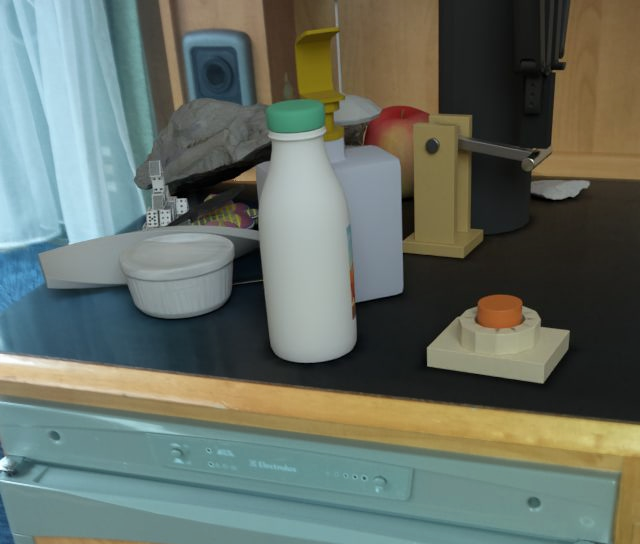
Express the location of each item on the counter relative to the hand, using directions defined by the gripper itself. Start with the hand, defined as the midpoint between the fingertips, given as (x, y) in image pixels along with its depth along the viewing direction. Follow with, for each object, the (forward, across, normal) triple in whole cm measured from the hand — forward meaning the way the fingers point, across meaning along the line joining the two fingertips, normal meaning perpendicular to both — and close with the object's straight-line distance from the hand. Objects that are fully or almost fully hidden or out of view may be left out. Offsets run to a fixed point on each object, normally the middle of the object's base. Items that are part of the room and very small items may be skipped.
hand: (535, 146), depth 98 cm
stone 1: (+8, -6, -40) cm, 41 cm away
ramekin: (+11, +23, -28) cm, 38 cm away
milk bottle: (+11, +28, -11) cm, 32 cm away
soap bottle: (+11, +17, -14) cm, 24 cm away
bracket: (+11, 0, -10) cm, 14 cm away
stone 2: (+11, -20, -3) cm, 23 cm away
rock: (-1, -8, -31) cm, 32 cm away
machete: (+7, +9, -35) cm, 37 cm away
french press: (+11, +3, -20) cm, 23 cm away
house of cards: (+11, +3, -42) cm, 43 cm away
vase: (+11, -9, -8) cm, 17 cm away
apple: (+11, -15, -21) cm, 28 cm away
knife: (+11, +18, -24) cm, 31 cm away
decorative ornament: (+9, +1, -31) cm, 32 cm away
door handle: (+7, +19, -31) cm, 37 cm away
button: (+8, +25, +5) cm, 27 cm away
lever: (+1, 0, -5) cm, 5 cm away
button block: (+11, +25, +5) cm, 28 cm away
